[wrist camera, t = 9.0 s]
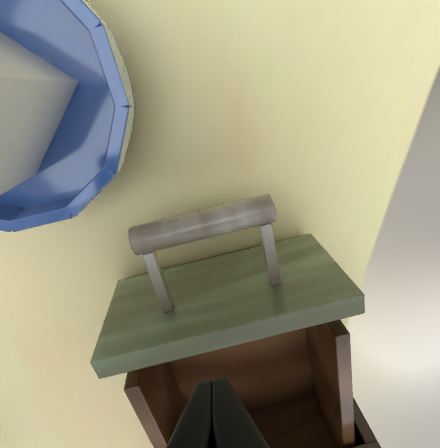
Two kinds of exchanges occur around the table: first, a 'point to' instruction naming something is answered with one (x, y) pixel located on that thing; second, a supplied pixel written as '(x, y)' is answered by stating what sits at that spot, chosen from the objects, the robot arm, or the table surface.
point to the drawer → (236, 329)
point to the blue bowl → (71, 110)
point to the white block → (28, 110)
